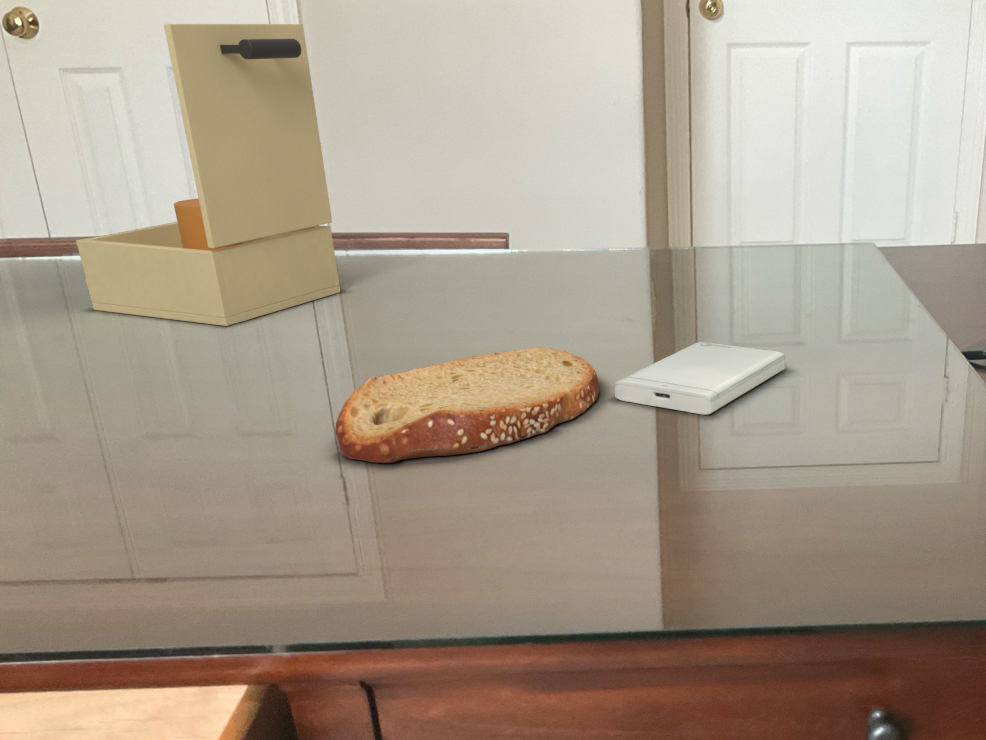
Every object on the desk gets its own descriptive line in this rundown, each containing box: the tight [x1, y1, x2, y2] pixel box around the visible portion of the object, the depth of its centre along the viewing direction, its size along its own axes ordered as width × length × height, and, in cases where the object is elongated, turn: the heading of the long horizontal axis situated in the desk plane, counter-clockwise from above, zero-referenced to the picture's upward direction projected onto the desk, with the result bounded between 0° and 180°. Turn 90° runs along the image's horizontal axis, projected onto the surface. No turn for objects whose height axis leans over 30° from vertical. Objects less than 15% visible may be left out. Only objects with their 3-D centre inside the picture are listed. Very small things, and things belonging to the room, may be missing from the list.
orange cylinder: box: [173, 198, 243, 251], centre depth 109 cm, size 6×6×9 cm
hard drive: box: [614, 341, 786, 416], centre depth 83 cm, size 2×8×12 cm
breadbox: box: [75, 221, 341, 327], centre depth 109 cm, size 18×16×7 cm
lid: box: [163, 23, 333, 248], centre depth 100 cm, size 18×16×4 cm
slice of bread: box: [334, 346, 600, 464], centre depth 76 cm, size 18×18×4 cm
